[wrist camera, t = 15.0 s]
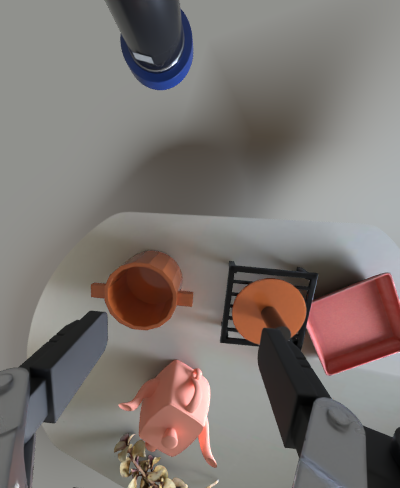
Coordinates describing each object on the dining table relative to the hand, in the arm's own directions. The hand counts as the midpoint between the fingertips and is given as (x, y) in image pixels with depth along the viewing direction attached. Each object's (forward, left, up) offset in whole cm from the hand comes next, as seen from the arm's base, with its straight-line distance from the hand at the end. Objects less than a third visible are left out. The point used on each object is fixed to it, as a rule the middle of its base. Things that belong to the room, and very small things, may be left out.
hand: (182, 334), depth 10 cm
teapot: (+35, -2, -30) cm, 46 cm away
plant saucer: (+15, +33, -30) cm, 47 cm away
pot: (+10, -9, -30) cm, 33 cm away
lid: (+12, +14, -24) cm, 31 cm away
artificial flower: (+61, -3, -30) cm, 68 cm away
